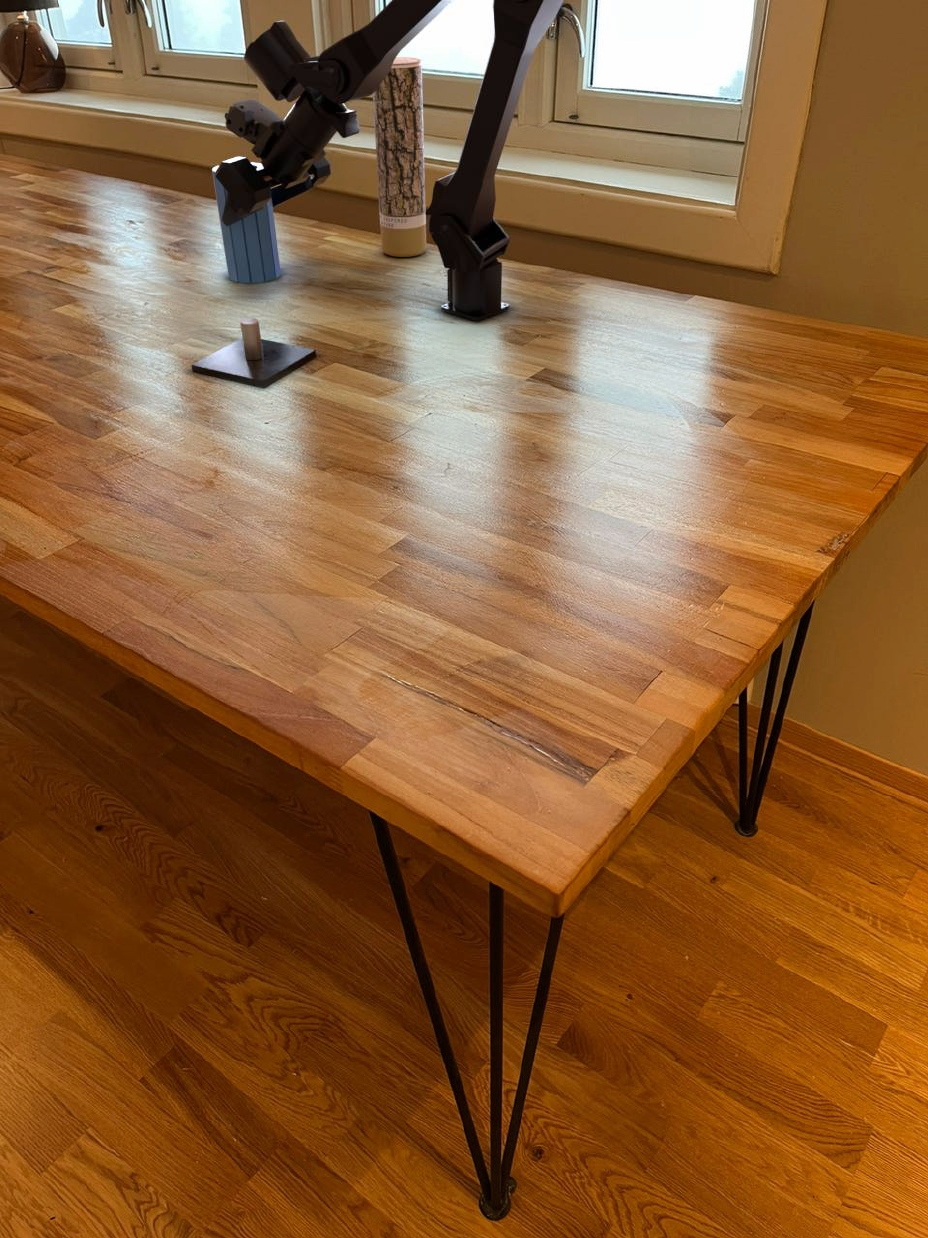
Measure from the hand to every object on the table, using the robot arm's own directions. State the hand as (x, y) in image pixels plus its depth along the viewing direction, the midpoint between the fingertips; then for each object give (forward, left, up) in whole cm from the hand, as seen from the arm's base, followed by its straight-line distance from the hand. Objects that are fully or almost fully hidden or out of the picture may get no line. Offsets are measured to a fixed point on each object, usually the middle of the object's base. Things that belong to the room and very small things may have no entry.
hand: (245, 214), depth 127 cm
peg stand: (-26, +20, -8) cm, 34 cm away
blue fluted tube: (0, 0, -8) cm, 8 cm away
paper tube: (-8, -22, -8) cm, 25 cm away
